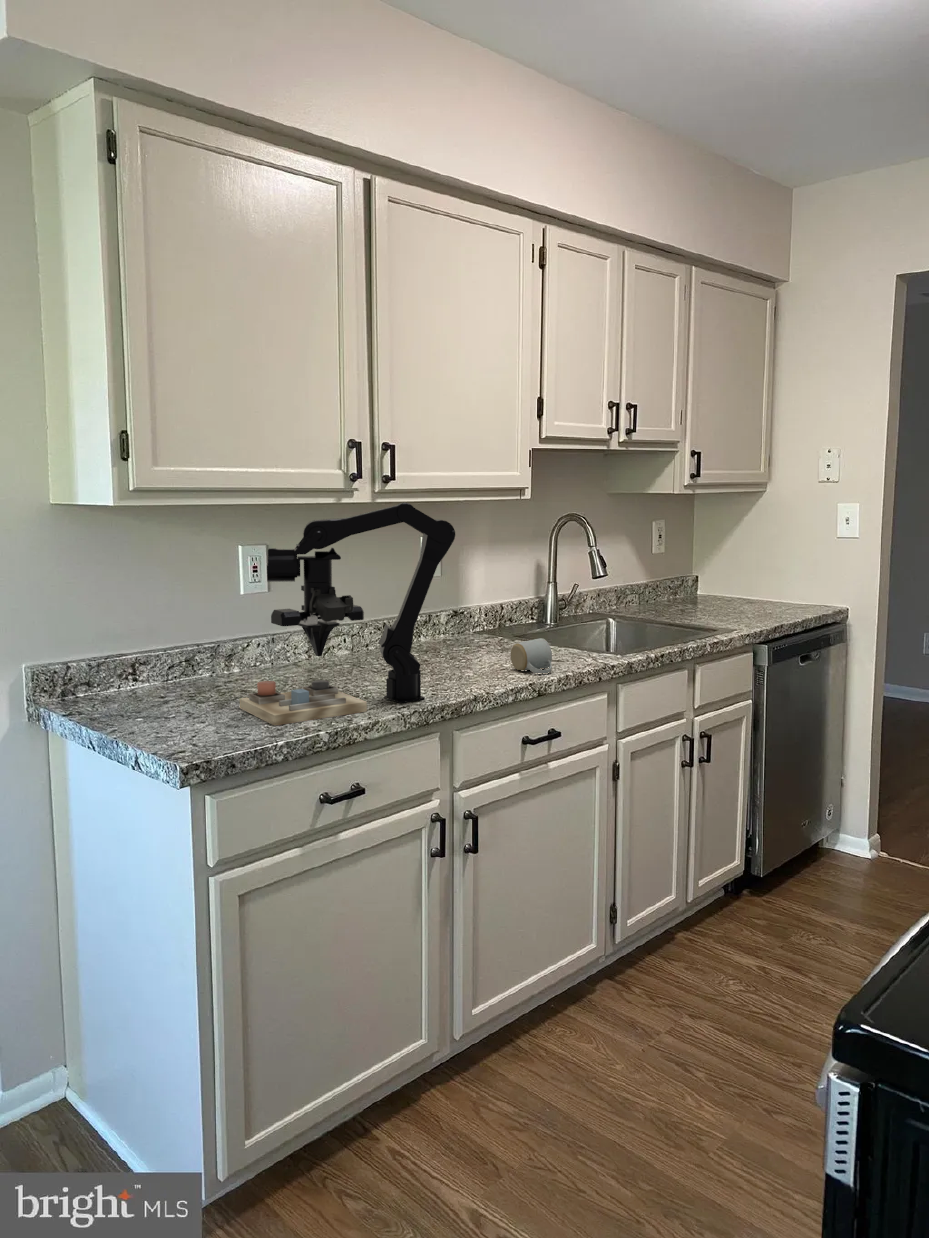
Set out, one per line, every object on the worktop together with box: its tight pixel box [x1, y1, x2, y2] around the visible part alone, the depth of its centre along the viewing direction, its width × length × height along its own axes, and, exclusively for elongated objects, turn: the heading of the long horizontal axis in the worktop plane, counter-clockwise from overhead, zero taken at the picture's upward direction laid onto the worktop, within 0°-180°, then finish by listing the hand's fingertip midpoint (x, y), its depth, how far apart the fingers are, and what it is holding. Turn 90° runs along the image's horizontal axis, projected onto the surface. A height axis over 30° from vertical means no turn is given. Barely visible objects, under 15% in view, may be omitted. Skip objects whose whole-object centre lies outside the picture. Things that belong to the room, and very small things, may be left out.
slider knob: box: [290, 688, 309, 705], centre depth 190 cm, size 2×3×3 cm
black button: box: [311, 679, 330, 690], centre depth 202 cm, size 4×4×2 cm
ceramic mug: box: [509, 637, 553, 674], centre depth 235 cm, size 11×8×8 cm
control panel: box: [239, 684, 368, 726], centre depth 195 cm, size 20×17×3 cm
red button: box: [256, 680, 277, 695], centre depth 195 cm, size 4×4×2 cm
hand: (318, 656), depth 201 cm, fingers closed
